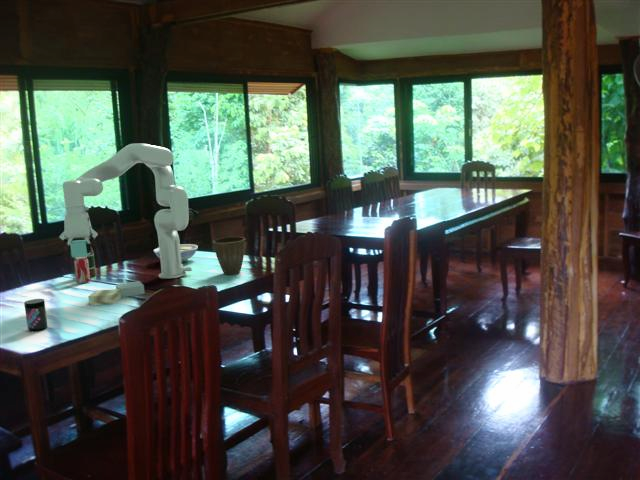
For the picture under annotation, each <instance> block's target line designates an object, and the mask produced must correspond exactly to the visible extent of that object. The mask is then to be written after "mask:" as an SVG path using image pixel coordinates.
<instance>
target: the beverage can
mask: <svg viewBox="0 0 640 480" xmlns="http://www.w3.org/2000/svg"><path fill="white" fill-rule="evenodd" d="M73 265H74V273H75V281H76V283H78V284H87V283H89V282H91V278H90V272H89V263H88V259H87V258H86V257H74V260H73Z"/></svg>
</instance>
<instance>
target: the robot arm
mask: <svg viewBox="0 0 640 480" xmlns="http://www.w3.org/2000/svg"><path fill="white" fill-rule="evenodd" d="M174 160H175V159H174V153H173V152H172V151H171V150H170V149H168V148H166V147H162V146H158V145H151V144H148V143H142V142H141V143H140V142H139V143H130V144H128V145H125V146H124V147H123V148H122V149H120V150H118V151H117V152H116V153H115V154H113V155H112V156H111V157H109V158H108V159H107V160H105V161H103V162H101V163H99V164H98V165H95V166H94V167H92V168H90V169H88V170H87V171H85V172H84V173H83V174H81V175H80V176H79V177H77V178H76V179H75V180H65V181H64V182H63V183H62V191H63V198H64V205H65V206H64V207H65V214H64V220H63V221H64V227H63V228H64V230H63V232H62V233H60V235H59V237H58V238H59V239H61V240H62V241H63V242H64V243H65V244H66V245H67V246H68V252H69V253H71V247H70V243H71V242H73V241H74V239H80V238H85V240H86V242H87V244H86V247H87V253H90V252H91V250H92V249H93V247H92V242H93V241H94V240H95V239H96V237H97V236H98V235H99V234H98V232H97V231H95V230H94V229H93V228H92V224H91V219H90V216H89V213H88V211H89V210H90V209H89V206H86V205H85V197H97V196H99V195H101V193H102V192H103V191H104V185H103V182H106V181H109V180H113V179H117V178H119V177H121V176H122V175H124V174H125V173H126V172H127V171H128V170H129V169H131V168H133V166H135V165H136V164H144V165H146V167H148V168H149V169H150V170H151V171H152V173H153V175H154V182H155V197H156V198H155V199H156V202H157V204H158V205H159V206H162V207H170V208H164V209H160V210H158V211H157V212H156V213H155V215H154V218H153V221H154V227H155V229H156V232H157V239H158V248H159V250H160V258H159V260H160V269H161V273H159V274H158V278H160V279H163V280H165V279H166V280H167V279H176V278H181V277H182V278H183V277H184V276H186V275H187V272H192V271H193V269H192V266H184V264H183V262H182V263H181V252H180V244H181V243H180V241H181V240H180V235H179V234H178V231H184V230H185V229H186V228H187V227H188V225H189V219H190V218H189V216H190V213H189V196H188V193H187V191H186V190H185V189H184V188H183V187H182V186H179V185H176V184H175V176H174V175H175V174H174V172H173V169H172V167H171V165H172V164H173V163H174ZM91 235H92V236H91ZM90 236H91V237H90ZM91 247H92V248H91Z"/></svg>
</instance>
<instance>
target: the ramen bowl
mask: <svg viewBox="0 0 640 480" xmlns="http://www.w3.org/2000/svg"><path fill="white" fill-rule="evenodd" d="M198 246H199V245H197V244H193V243H192V244H191V243H188V244H187V243H183V244H181V243H180V252H181V263H182V264H183V263H184V262H186V261H187V260H189V259H191V258H192V257H193V256H194V255H195V254H196V252H197V250H198ZM153 252H154V254H155V255H156V256H157V258H159V259H160V250H159V247H157V248H155V249H153Z"/></svg>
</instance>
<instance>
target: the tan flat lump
mask: <svg viewBox="0 0 640 480" xmlns="http://www.w3.org/2000/svg"><path fill="white" fill-rule="evenodd" d="M87 297H88V305H89V306H97V305H99V306H100V305H101V306H102V305H115V304H116V302H118V301H119V300H120V299H121V298H122V297H121V293H120V289H115V288H114V289H112V288H111V289H99V290H94V292H92V293H91V294H89V295H88V296H87Z"/></svg>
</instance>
